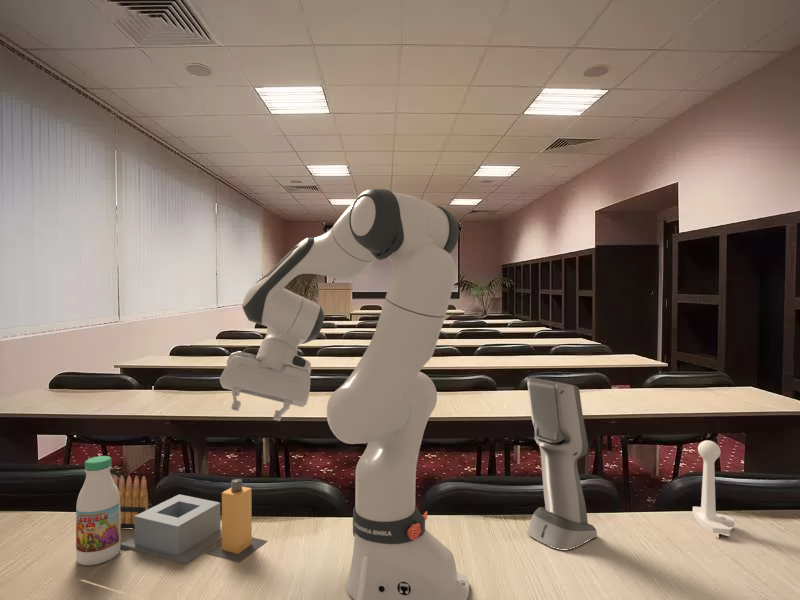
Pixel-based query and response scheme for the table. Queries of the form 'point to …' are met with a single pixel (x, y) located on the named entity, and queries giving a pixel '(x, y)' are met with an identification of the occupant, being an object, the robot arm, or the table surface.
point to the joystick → (710, 492)
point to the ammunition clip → (131, 500)
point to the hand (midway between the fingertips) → (255, 414)
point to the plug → (236, 517)
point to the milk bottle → (98, 514)
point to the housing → (177, 529)
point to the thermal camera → (559, 464)
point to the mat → (236, 557)
